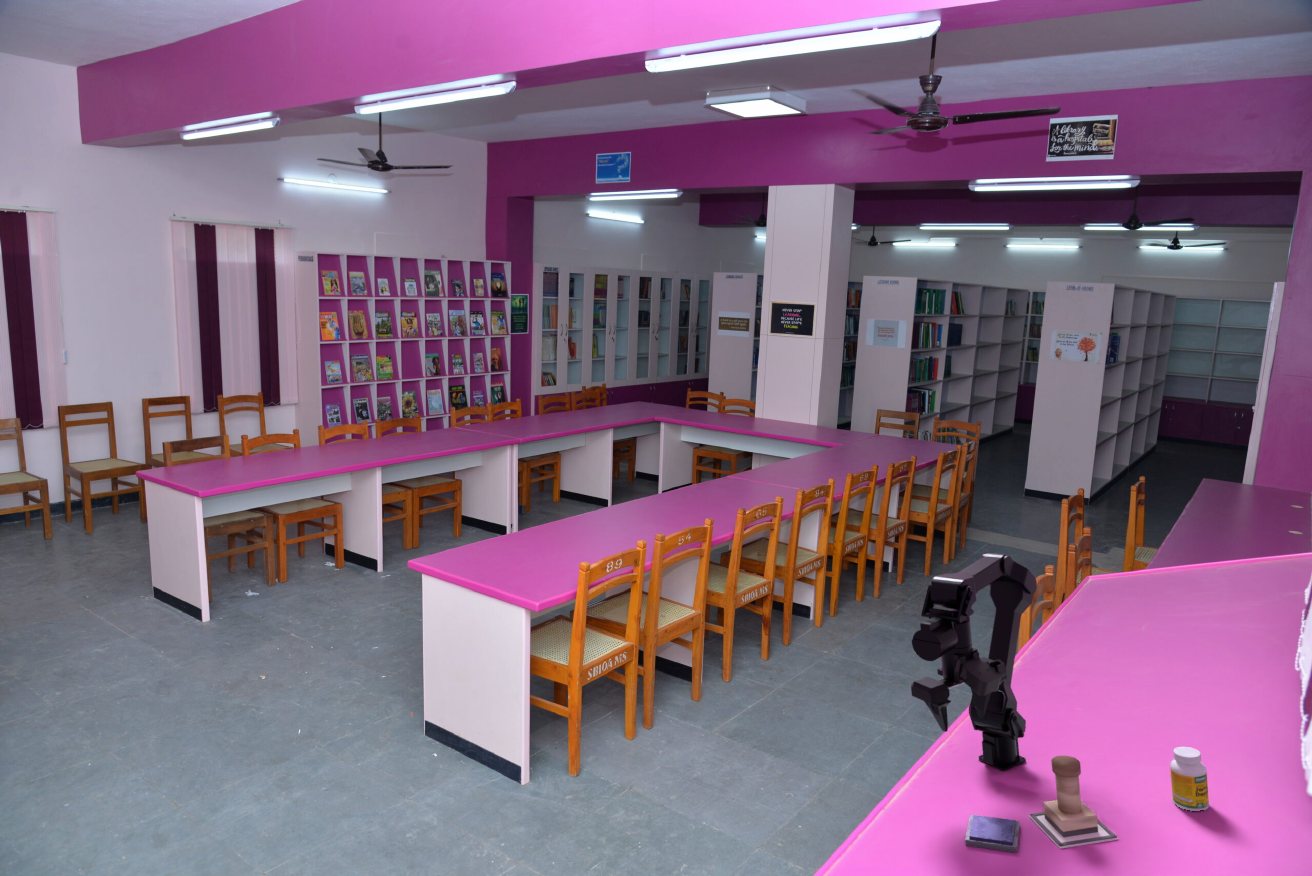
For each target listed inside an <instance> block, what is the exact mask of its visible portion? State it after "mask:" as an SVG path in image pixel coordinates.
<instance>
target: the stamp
mask: <svg viewBox="0 0 1312 876" xmlns="http://www.w3.org/2000/svg"><path fill="white" fill-rule="evenodd" d="M1050 761H1051V771H1052V773H1054V776H1055V778H1054V779H1055V789H1056V799H1054V800H1046V801H1043V812H1044V815H1045V819H1046V820H1047V821H1048V822H1049V823H1050V824H1051V825H1052V826H1053V827H1054V828H1055V829H1056V830H1057V831H1058V832H1059V833H1060V834H1061V835H1062V836H1063V837H1070V836H1076V835H1083V834H1089V833H1096V832H1098V823H1097V819H1098V815H1097V814H1096V813H1095V811H1093V810H1092V809H1090V807H1088V805H1086V804H1085V803H1084V802H1083V801H1082V799H1081V789H1080V788H1081V787H1080V777H1079V776H1080V775H1081V773H1082V769H1081V762H1080V761H1079V759H1077V758H1076V757H1073V756H1070V755H1069V756H1068V755H1057V756H1054V757H1052V759H1051V760H1050Z"/></svg>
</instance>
